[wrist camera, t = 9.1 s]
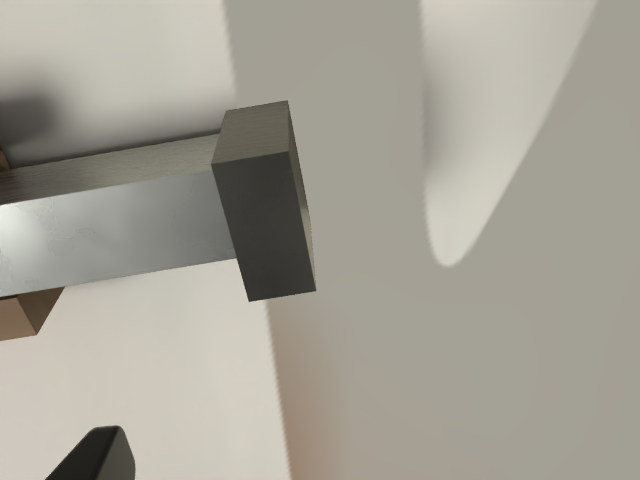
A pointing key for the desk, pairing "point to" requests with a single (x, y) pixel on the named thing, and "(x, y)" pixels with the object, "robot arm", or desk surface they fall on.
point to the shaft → (165, 211)
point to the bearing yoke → (24, 304)
